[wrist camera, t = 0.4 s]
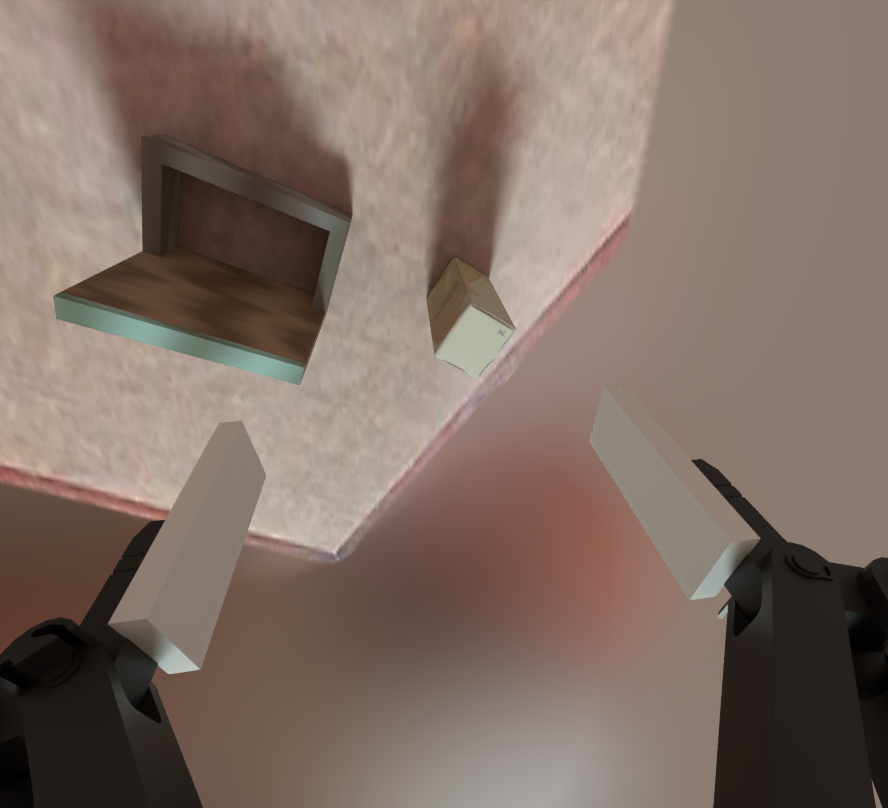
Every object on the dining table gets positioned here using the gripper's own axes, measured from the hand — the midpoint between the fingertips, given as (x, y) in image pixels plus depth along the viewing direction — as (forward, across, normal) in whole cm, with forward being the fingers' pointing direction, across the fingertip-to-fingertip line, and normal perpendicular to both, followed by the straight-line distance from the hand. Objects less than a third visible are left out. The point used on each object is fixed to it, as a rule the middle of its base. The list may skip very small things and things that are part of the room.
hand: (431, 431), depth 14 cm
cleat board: (+25, -12, +2) cm, 28 cm away
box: (+25, +5, -4) cm, 26 cm away
